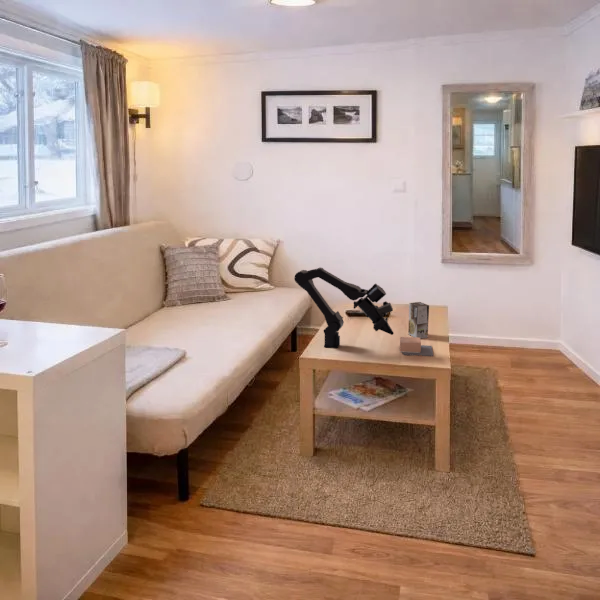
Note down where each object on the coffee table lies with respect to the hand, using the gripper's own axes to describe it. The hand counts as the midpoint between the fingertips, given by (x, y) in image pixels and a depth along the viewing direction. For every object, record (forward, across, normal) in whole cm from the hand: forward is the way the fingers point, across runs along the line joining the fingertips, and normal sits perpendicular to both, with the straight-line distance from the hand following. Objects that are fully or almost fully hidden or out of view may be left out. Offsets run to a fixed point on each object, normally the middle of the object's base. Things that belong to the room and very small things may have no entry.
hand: (392, 334), depth 292 cm
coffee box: (+14, +26, -4) cm, 30 cm away
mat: (+13, 0, -3) cm, 13 cm away
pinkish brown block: (+6, 0, +1) cm, 6 cm away
